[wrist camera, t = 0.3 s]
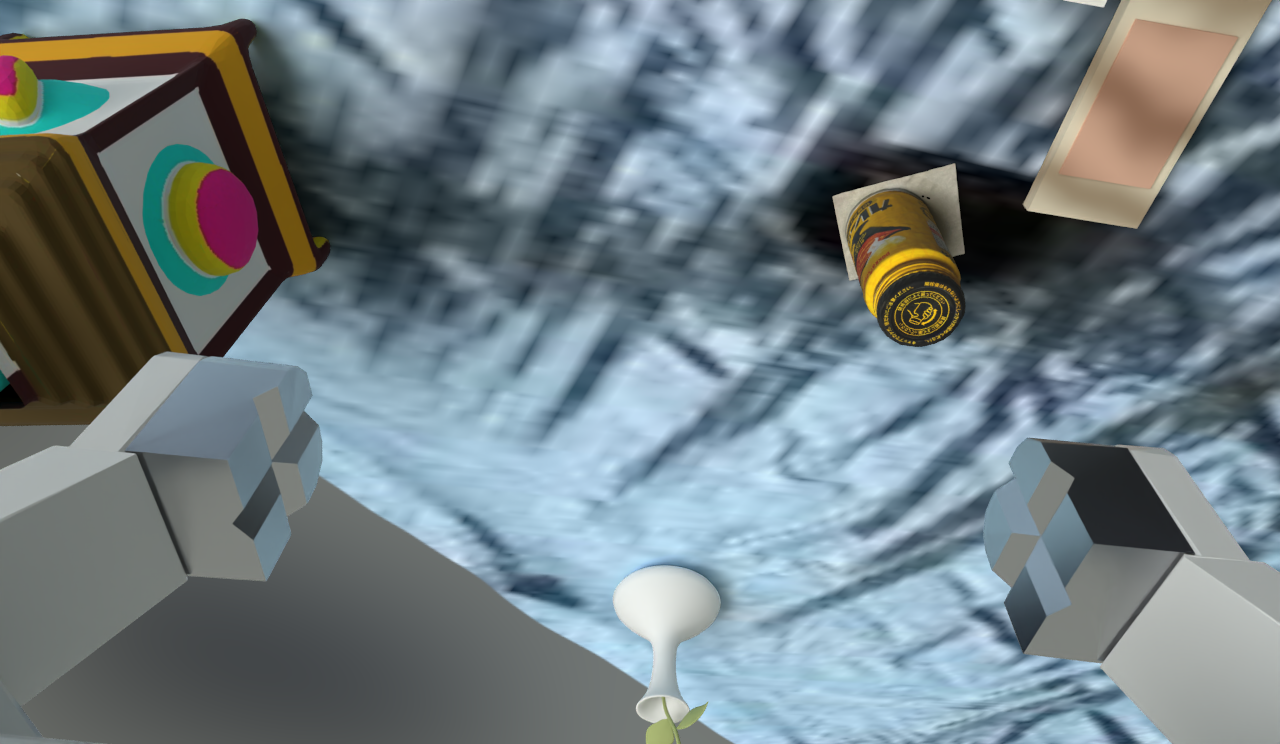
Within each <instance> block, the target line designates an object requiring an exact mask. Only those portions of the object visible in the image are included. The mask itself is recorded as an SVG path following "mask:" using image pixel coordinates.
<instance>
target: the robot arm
mask: <svg viewBox="0 0 1280 744" xmlns="http://www.w3.org/2000/svg"><path fill="white" fill-rule="evenodd" d="M311 397H312V392H311V388H310V385H309V381H308V377H307V373H306V372H305V371H303V370H302V369H301V368H299V367H298V366H290V365H282V364H273V363H265V362H257V361H248V360H240V359H232V358H223V357H215V356H211V357H207V356H201V355H193V354H184V353H175V352H164V353H161V354H158V355H155V356H153V357H152V358H151V359H150V360H149V361H148V362H147V363H146V364H145V366H144V367H143V368H142V369H141V370H140V371H139V372H138V373H137V374H136V375H135V376H134V377H133V378H132V380H131V381H130V382H129V383H128V384H127V385H126V386H125V387H124V388H123V389H122V390H121V391H120V392H119V394H118V395H117V396H116V397H115V398H114V399H113V400H112V401H111V402H110V403H109V404H108V405H107V407H106V408H105V409H104V410H103V411H102V412H101V413H100V414H99V415H98V416H97V417H96V418H95V419H94V421H93V422H92V423H91V424H90V425H89V426H88V427H87V428H86V429H85V431H83V432H82V434H81V435H80V436H79V437H78V438H77V439H76V440H75V441H74V442H73V443H72V444H71V445H70V446H69V447H62V446H52V447H50V448H48V449H46V450H43V451H41V452H39V453H37V454H34V455H32V456H30V457H28V458H26V459H23V460H21V461H19V462H17V463H14V464H12V465H10V466H8V467H5V468H3V469H1V470H0V744H104V743H93V742H83V741H72V740H61V739H51V738H43V736H42V735H41V734H40V732H39V731H38V729H37V728H36V727H35V725H34V724H33V723H32V721H31V720H30V719H29V717H28V716H27V714H26V713H25V712H24V710H23V709H22V708H21V706H23V705H24V704H25V703H27V702H28V701H29V700H30V699H32V698H33V697H34V696H36V695H37V694H38V693H40V692H41V691H42V690H44V689H45V688H46V687H47V686H49V685H50V684H52V683H53V682H54V681H56V680H57V679H58V678H59V677H61V676H62V675H63V674H65V673H66V672H67V671H69V670H70V669H71V668H73V667H74V666H75V665H76V664H78V663H79V662H81V661H82V660H83V659H85V658H86V657H87V656H88V655H90V654H91V653H92V652H94V651H95V650H96V649H98V648H99V647H100V646H102V645H103V644H104V643H105V642H107V641H108V640H110V639H111V638H112V637H114V636H115V635H116V634H117V633H119V632H120V631H121V630H123V629H124V628H125V627H127V626H128V625H129V624H131V623H132V622H133V621H134V620H136V619H137V618H139V616H141V615H142V614H144V613H145V612H146V611H148V610H149V609H150V608H152V607H153V606H154V605H155V604H157V603H158V602H160V601H161V600H162V599H164V598H165V597H166V596H167V595H169V594H170V593H171V592H173V591H174V590H175V589H177V588H178V587H179V586H181V585H182V584H183V583H185V582H186V581H187V579H188V578H187V576H197V577H212V578H226V579H241V580H255V581H256V580H257V581H267V579H268V577H269V575H270V573H271V571H272V569H273V568H274V566H275V564H276V562H277V560H278V558H279V556H280V554H281V552H282V551H283V549H284V547H285V545H286V543H287V541H288V539H289V538H290V536H291V531H290V527H289V524H288V519H287V516H289V515H291V514H292V513H294V512H295V511H297V510H298V509H300V508H301V507H303V506H305V505H306V504H307V503H308V501H309V499H310V497H311V495H312V493H313V491H314V489H315V487H316V485H317V481H318V477H319V472H320V468H321V464H322V439H321V434H320V429H319V425H318V424H317V423H316V422H315V421H314V420H313V419H312V418H311V417H310V416H309V415H308V414H307V413H306V412H305V411H304V409H305V407H306V405H307V404H308V402H309V400H310V399H311ZM1009 465H1010V467H1011V470H1012V472H1013V474H1014V477H1015V479H1013V480H1011V481H1010V482H1008V483H1007V484H1005V485H1003V486H1002V487H1000V488H999V489H997V490H995V492H994V494H993V496H992V498H991V501H990V503H989V505H988V507H987V510H986V513H985V522H984V532H983V536H984V543H985V551H986V554H987V557H988V560H989V563H990V566H991V569H992V571H994V572H995V573H996V574H997V575H998V576H999V577H1000V578H1001V579H1002V580H1004V581H1005V582H1006V583H1007V584H1008V585H1009V586H1010V587H1011V590H1010V592H1009V594H1008V596H1007V598H1006V600H1005V602H1004V604H1005V607H1006V609H1007V612H1008V615H1009V617H1010V620H1011V622H1012V625H1013V628H1014V630H1015V633H1016V636H1017V638H1018V641H1019V644H1020V646H1021V649H1022V652H1023V654H1029V655H1038V656H1046V657H1054V658H1062V659H1070V660H1079V661H1087V662H1095V663H1102V664H1101V666H1100V668H1101V669H1102V670H1103V671H1104V672H1105V673H1106V674H1107V675H1108V676H1109V677H1110V678H1111V679H1112V680H1113V681H1114V682H1115V683H1116V685H1117V686H1118V687H1119V688H1120V689H1121V690H1122V691H1123V692H1124V693H1125V694H1126V695H1127V696H1128V697H1129V698H1130V699H1131V700H1132V701H1133V703H1134V704H1135V705H1136V706H1137V707H1138V708H1139V709H1140V710H1141V711H1142V712H1143V713H1144V714H1145V715H1146V716H1147V717H1148V718H1149V720H1150V721H1151V722H1152V723H1153V724H1154V725H1155V726H1156V727H1157V728H1158V729H1159V730H1160V731H1161V732H1162V733H1163V734H1164V735H1165V736H1166V738H1167V739H1168V740H1169V741H1170V742H1171V743H1172V744H1280V572H1278V571H1277V570H1275V569H1274V568H1272V567H1271V566H1269V565H1268V564H1266V563H1264V562H1255V561H1250V560H1249V559H1248V557H1247V556H1246V555H1245V553H1244V552H1243V550H1242V549H1241V548H1240V546H1239V545H1238V543H1237V542H1236V540H1235V539H1234V538H1233V536H1232V535H1231V533H1230V532H1229V531H1228V529H1227V528H1226V526H1225V525H1224V523H1223V522H1222V521H1221V519H1220V518H1219V516H1218V515H1217V513H1216V512H1215V511H1214V509H1213V508H1212V506H1211V505H1210V504H1209V502H1208V501H1207V499H1206V498H1205V496H1204V495H1203V494H1202V492H1201V491H1200V489H1199V488H1198V486H1197V485H1196V484H1195V482H1194V481H1193V479H1192V478H1191V477H1190V475H1189V474H1188V472H1187V471H1186V469H1185V468H1184V467H1183V465H1182V464H1181V462H1180V461H1179V460H1178V458H1177V457H1176V456H1175V455H1173V454H1172V453H1170V452H1169V451H1167V450H1166V449H1164V448H1153V447H1140V446H1127V445H1116V446H1111V445H1102V444H1091V443H1080V442H1069V441H1058V440H1047V439H1036V438H1026V439H1025V440H1024V441H1023V442H1022V443H1021V444H1020V445H1019V446H1017V448H1016V450H1015V452H1014V454H1013V456H1012V458H1011V460H1010V461H1009Z"/></svg>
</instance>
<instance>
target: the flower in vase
mask: <svg viewBox="0 0 1280 744" xmlns="http://www.w3.org/2000/svg"><path fill="white" fill-rule="evenodd" d="M613 604H614V608H615V611H616V613H617V615H618V617H619V619H620V620H621V621H622V622H623V623H624V624H625V625H626V626H627V627H628V628H629V629H630V630H632V631H633V632H635V633H636V634H638V635H639V636H641V637H643V638H645V639H647V640H649V641H650V642H651V644H652V646H653V670H652V676H651V681H650V684H649V688H648V690H647V693H646V694H645V695H644V697H643V698H642V699H641V700H640V701H639V702H638V704H637V706H636V711H637V713H638V715H639V716H640V717H641V718H643V719H645V720H647V721H649V722H652V723H654V724H653V725H651V726H650V727H649V728H648V729H647V732H646V744H672V743H673V741H674V734H675V737H676V742H677V744H681V743H680V739H679V735H678V732H677V729H684V728H687V727H689V726H690V725H692V724H693V723H694V722H696V721H697V720H698V719H699V718H700V716H701V715H702V714H703V712H704V711H705V709H706V707H707V704H708V702H707V703H706V704H705V705H702V706H699V707H696V708H694V709H692V710H691V711H690V710H689V707H688V705H687V703H686V702H685V701H684V700H683V698H682V696H681V694H680V692H679V689H678V684H677V678H676V652H677V647H678V646H679V644H680V643H681V642H683V641H686V640H688V639H690V638H693V637H695V636H697V635H699V634H700V633H701V632H703V631H704V630H705V629H707V628H708V627H709V626H710V625H711V624H712V623H713V622H714V621H715V619H716V617H717V615H718V612H719V610H720V605H721V600H720V596H719V593H718V592H717V590H716V588H715V587H714V586H713V585H712V584H711V582H710V581H708V580H707V579H706V578H705V577H704V576H702V575H700V574H699V573H697V572H695V571H692V570H690V569H687V568H683V567H678V566H669V565H658V566H650V567H646V568H643V569H639V570H637V571H635V572H633V573H631V574H629V575H628V576H627V577H626V578H624V579H623V580H622V581H621V582H620V583H619V585H618V586H617V587H616V589H615V591H614V594H613ZM680 721H681V722H680ZM677 722H680V724H679V725H678V727H677V729H676V726H675V724H674V723H677ZM673 731H674V733H673Z"/></svg>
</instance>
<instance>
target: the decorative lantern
mask: <svg viewBox="0 0 1280 744" xmlns="http://www.w3.org/2000/svg"><path fill="white" fill-rule="evenodd" d="M256 34H257V30H256V27H255V24H254V23H253V22H252V21H250V20H248V19H238V20H235V21H232V22H229V23H226V24H223V25H218V26H211V27H204V28H188V29H171V30H155V31H139V32H123V33H106V34H90V35H74V36H58V37H41V38H28V37H27V36H25V35H24V34H17V33H10V34H4V35H1V36H0V426H25V425H26V426H28V425H85V424H86V425H87V424H91V423H92V422H93V421H94V419H95V418H96V417H97V416H98V415H99V414H100V413H101V412H102V411H103V410H104V409H105V408H106V407H107V405H108V404H109V403H110V402H111V401H112V400H113V399H114V398H115V397H116V396H117V395H118V394H119V392H120V391H121V390H122V389H123V388H124V387H125V386H126V385H127V384H128V383H129V382H130V381H131V380H132V378H133V377H134V376H135V375H136V374H137V373H138V372H139V371H140V370H141V369H142V368H143V367H144V366H145V364H146V363H147V362H148V361H149V360H150V359H151V358H152V357H153V356H155V355H158V354H161V353H164V352H175V353H184V354H193V355H201V356H207V357H211V356H215V357H224V355H225V354H226V353H227V352H228V350H229V349H230V348H231V347H232V345H233V344H234V343H235V341H236V340H237V339H238V338H239V336H240V335H241V334H242V333H243V331H244V330H245V329H246V328H247V326H248V325H249V324H250V322H251V321H252V320H253V319H254V317H255V316H256V315H257V314H258V312H259V311H260V310H261V308H262V307H263V306H264V305H265V303H266V302H267V301H268V300H269V298H270V297H271V296H272V294H273V293H274V292H275V291H276V289H277V288H278V287H279V286H280V284H281V283H282V282H283V281H284V280H285V279H286V278H288V277H293V276H298V275H303V274H307V273H310V272H313V271H316V270H317V269H319V268H320V267H321V266H322V264H323V263H324V262H325V260H326V259H327V257H328V255H329V253H330V243H329V241H328V240H327V239H326V238H324V237H314V238H312V235H311V232H310V229H309V226H308V223H307V221H306V218H305V215H304V212H303V209H302V206H301V204H300V201H299V198H298V195H297V192H296V190H295V187H294V184H293V181H292V178H291V175H290V173H289V170H288V167H287V164H286V161H285V159H284V156H283V153H282V150H281V147H280V144H279V142H278V139H277V136H276V133H275V130H274V127H273V125H272V122H271V119H270V116H269V113H268V111H267V108H266V105H265V102H264V99H263V96H262V94H261V91H260V88H259V85H258V82H257V80H256V77H255V74H254V71H253V68H252V65H251V61H250V58H249V51H248V48H249V45H250V44H251V42H252V41H253V39H254V38H255V37H256Z"/></svg>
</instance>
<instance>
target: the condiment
mask: <svg viewBox="0 0 1280 744" xmlns="http://www.w3.org/2000/svg"><path fill="white" fill-rule="evenodd" d="M956 178H957V177H956V167H955V163H954V164H951V165H947V166H944V167H941V168H936V169H932V170H929V171H926V172H922V173H918V174H914V175H911V176H906V177H902V178H898V179H894V180H890V181H886V182H882V183H878V184H875V185H871V186H867V187H863V188H859V189H856V190H853V191H848V192H845V193H841V194H838V195H835V196H833V202H834V207H835V212H836V217H837V222H838V227H839V232H840V236H841V241H842V246H843V251H844V256H845V261H846V266H847V271H848V275H849V280H850V281H851V280H855V279H859V283H860V286H861V288H862V291H863V297H864V300H865V302H866V304H867V307H868V309H869V311H870V312H871V313H872V314H873V315H874V316H875V317H876V318H877V320H878V323H879V326H880V328H881V329H882V331H883V332H884V333H885V334H886V336H887V337H889V338H890V339H892V340H894V341H895V342H897V343H899V344H900V345H906V346H914V347H922V346H927V345H931V344H935V343H937V342H939V341H941V340H944V339H945V338H946V337H948V336H949V335H950V334H951V333H952V332H953V331H954V330H955V328H956V327H957V326H958V324H959V323H960V321H961V319H962V318H963V316H964V313H965V298H964V293H963V291H962V289H961V286H960V282H961V277H960V273H959V270H958V268H957V265H956V263H955V261H954V259H953V257H954V256H957V255H961V254H965V251H964V243H963V235H962V226H961V218H960V207H959V202H958V201H959V198H958V187H957V179H956ZM922 195H924V198H923V197H921V196H922ZM926 197H930V200H929V199H927V198H926Z"/></svg>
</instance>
